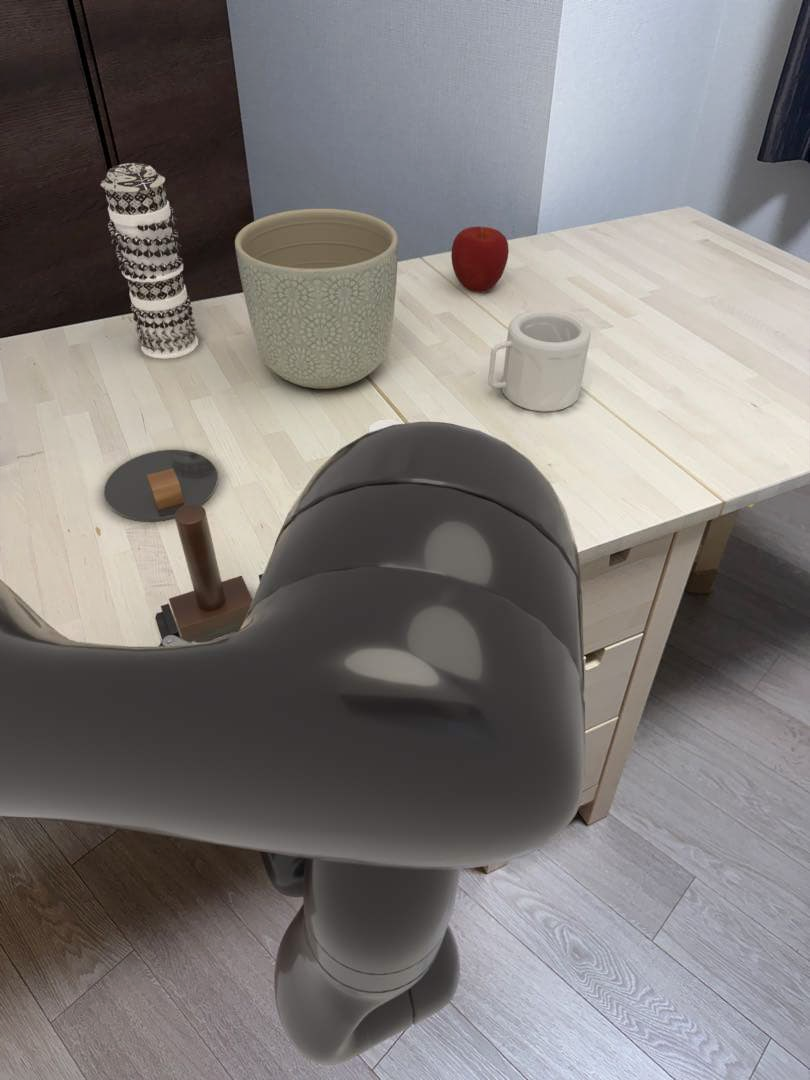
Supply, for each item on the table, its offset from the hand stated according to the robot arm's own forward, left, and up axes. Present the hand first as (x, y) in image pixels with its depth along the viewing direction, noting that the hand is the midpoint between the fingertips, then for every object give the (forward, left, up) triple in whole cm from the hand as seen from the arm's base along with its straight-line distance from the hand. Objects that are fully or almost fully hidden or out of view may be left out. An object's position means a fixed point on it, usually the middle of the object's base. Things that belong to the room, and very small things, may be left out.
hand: (215, 595), depth 64 cm
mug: (+55, +15, -8) cm, 58 cm away
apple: (+72, +45, -8) cm, 86 cm away
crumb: (+5, +24, -8) cm, 26 cm away
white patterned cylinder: (+21, +58, -8) cm, 63 cm away
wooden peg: (+1, +4, -8) cm, 9 cm away
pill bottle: (+26, +10, -8) cm, 29 cm away
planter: (+36, +38, -8) cm, 53 cm away
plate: (+6, +27, -8) cm, 29 cm away
